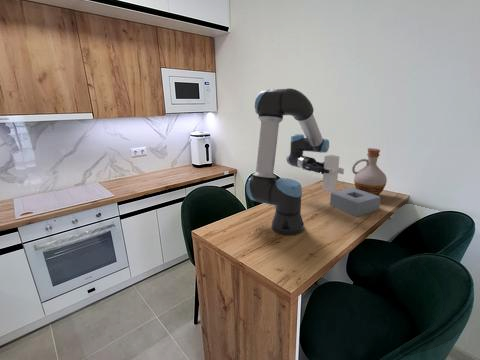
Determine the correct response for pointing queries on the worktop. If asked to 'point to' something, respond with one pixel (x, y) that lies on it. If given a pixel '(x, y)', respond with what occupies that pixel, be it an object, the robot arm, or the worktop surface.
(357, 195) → the well block
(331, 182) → the post
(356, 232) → the worktop surface
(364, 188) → the jug
